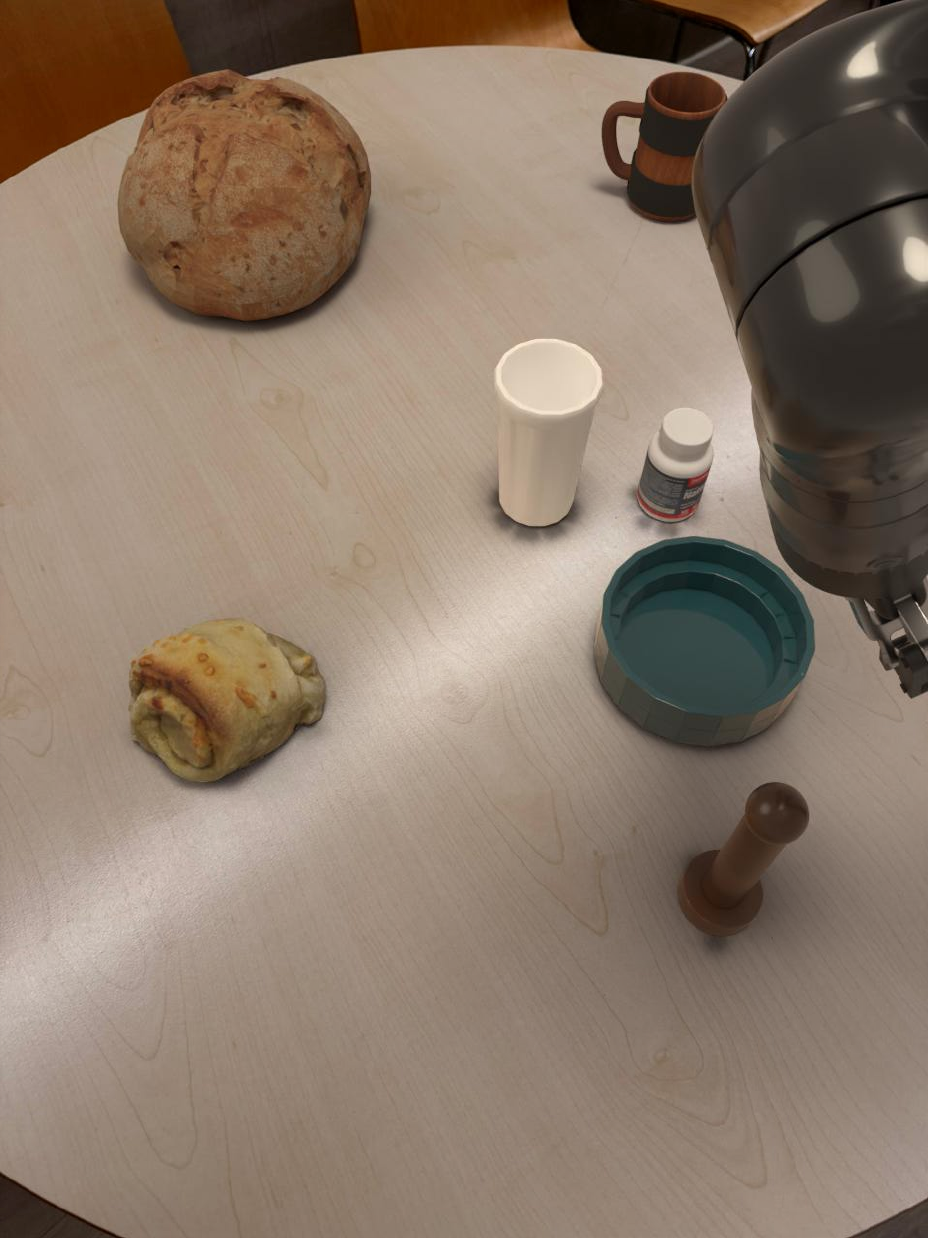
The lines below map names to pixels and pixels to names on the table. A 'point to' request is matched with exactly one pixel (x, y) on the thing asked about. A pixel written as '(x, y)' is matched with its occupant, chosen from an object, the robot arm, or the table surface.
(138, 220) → the bread
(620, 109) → the mug
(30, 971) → the table surface
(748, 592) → the bowl
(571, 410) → the cup
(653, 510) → the pill bottle
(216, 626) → the pastry
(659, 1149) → the table surface
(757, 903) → the pestle
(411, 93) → the table surface
